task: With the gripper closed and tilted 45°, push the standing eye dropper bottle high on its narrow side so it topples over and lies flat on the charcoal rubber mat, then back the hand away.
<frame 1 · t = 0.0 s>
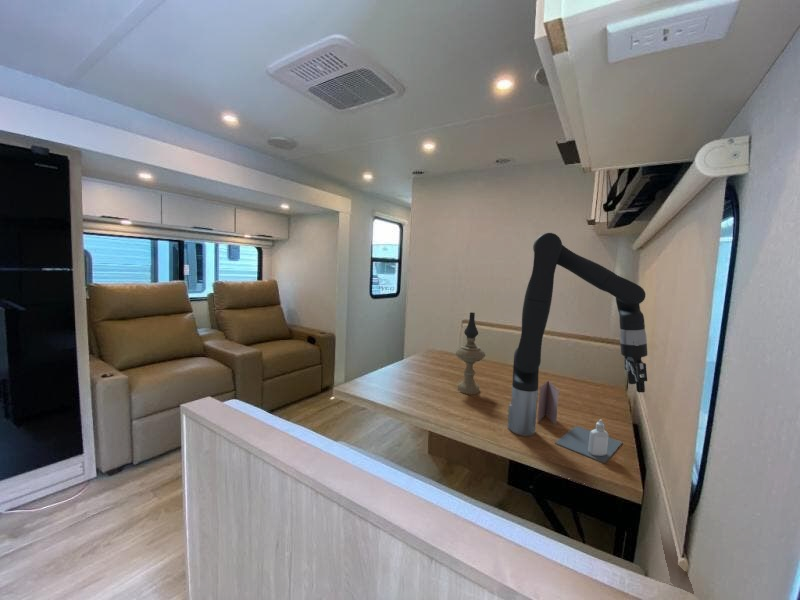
hand: (636, 387, 115), 22 cm above the table, tool pointing down, fingers open, 8 cm apart
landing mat: (588, 443, 120), on the table
eye dropper bottle: (597, 454, 113), resting on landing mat
greeting card: (548, 421, 138), on the table
oil lamp: (468, 390, 170), on the table
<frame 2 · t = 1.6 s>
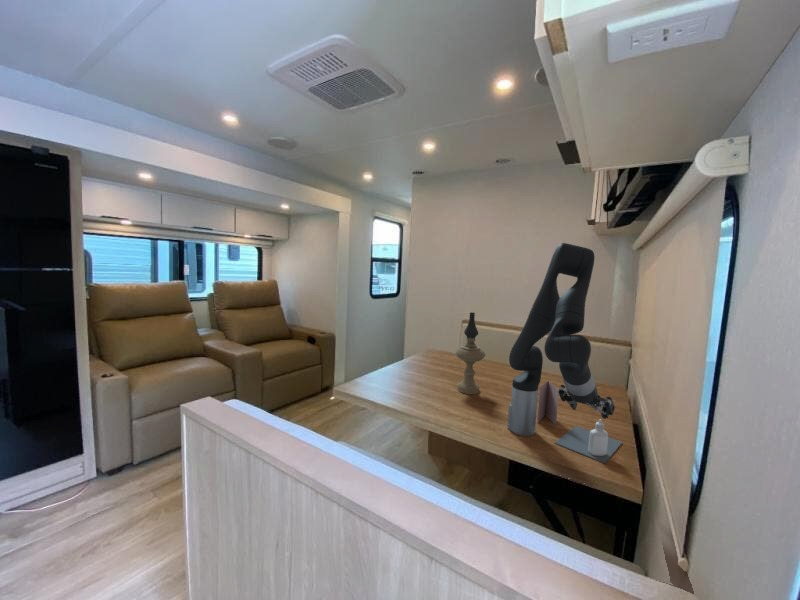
hand: (589, 411, 103), 19 cm above the table, tool tilted 45°, fingers open, 8 cm apart
nothing on the table moved.
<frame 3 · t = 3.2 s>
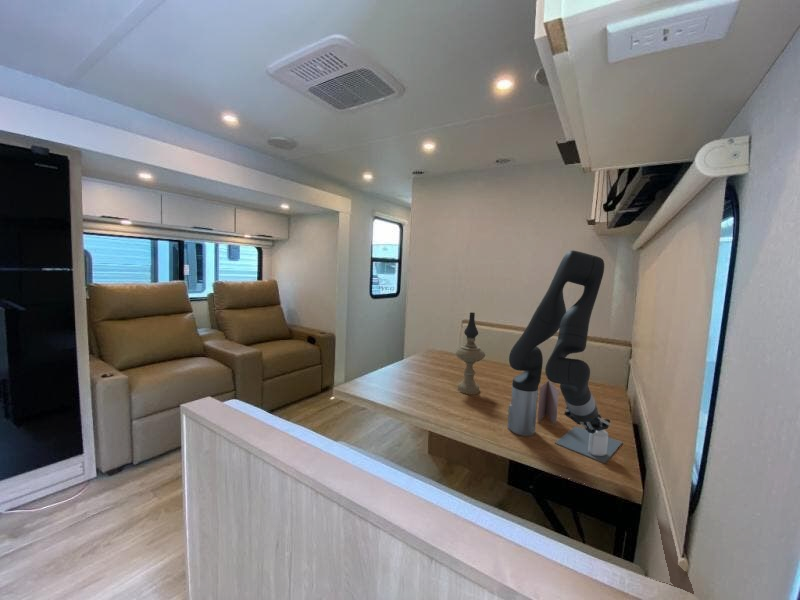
hand: (591, 430, 106), 11 cm above the table, tool tilted 45°, fingers closed
nothing on the table moved.
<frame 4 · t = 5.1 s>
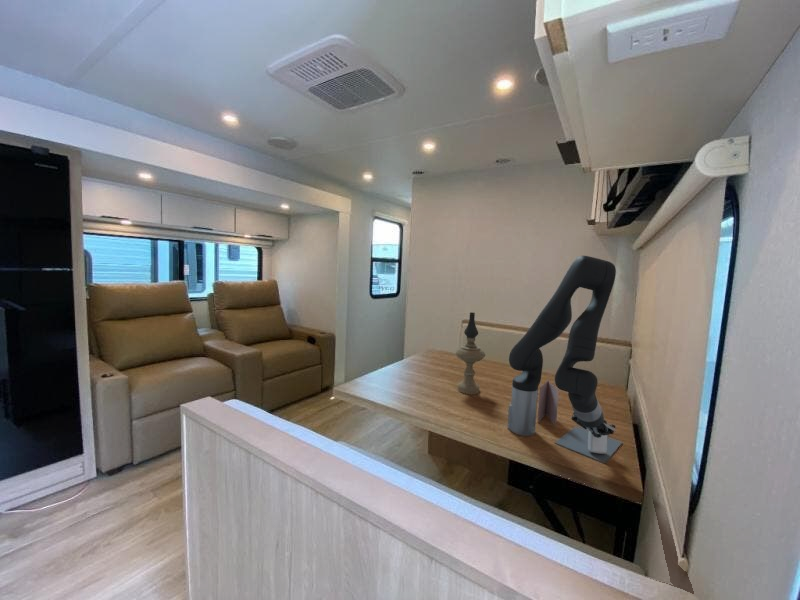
hand: (597, 434, 111), 8 cm above the table, tool tilted 45°, fingers closed
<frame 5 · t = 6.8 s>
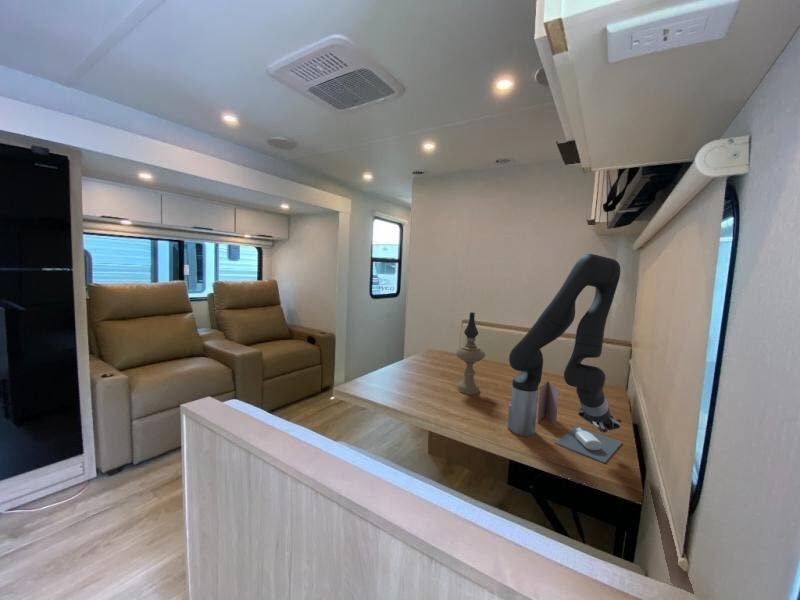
hand: (603, 429, 115), 7 cm above the table, tool tilted 45°, fingers closed
eye dropper bottle: (594, 446, 114), point 2 cm above the table, touching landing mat
everything else where it was.
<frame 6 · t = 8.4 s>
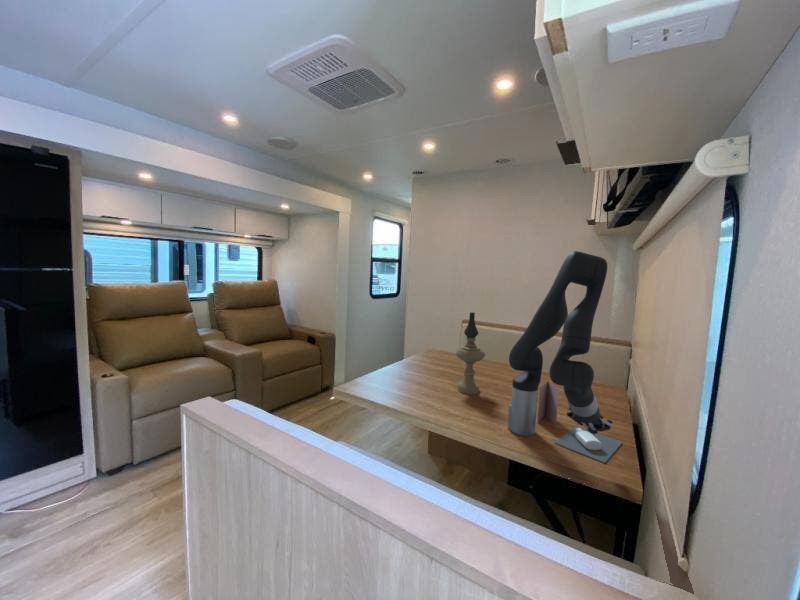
hand: (593, 431, 108), 11 cm above the table, tool tilted 45°, fingers closed
nothing on the table moved.
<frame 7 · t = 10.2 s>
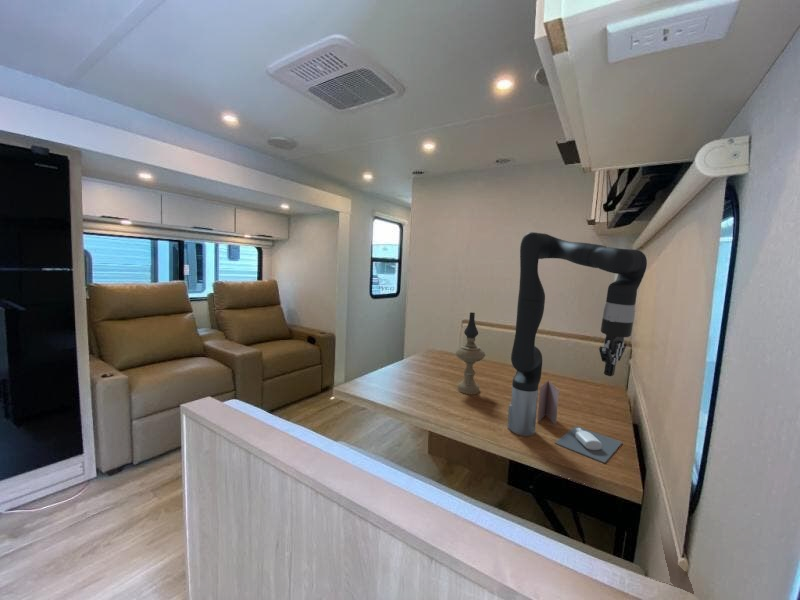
hand: (608, 375, 99), 31 cm above the table, tool pointing down, fingers closed
nothing on the table moved.
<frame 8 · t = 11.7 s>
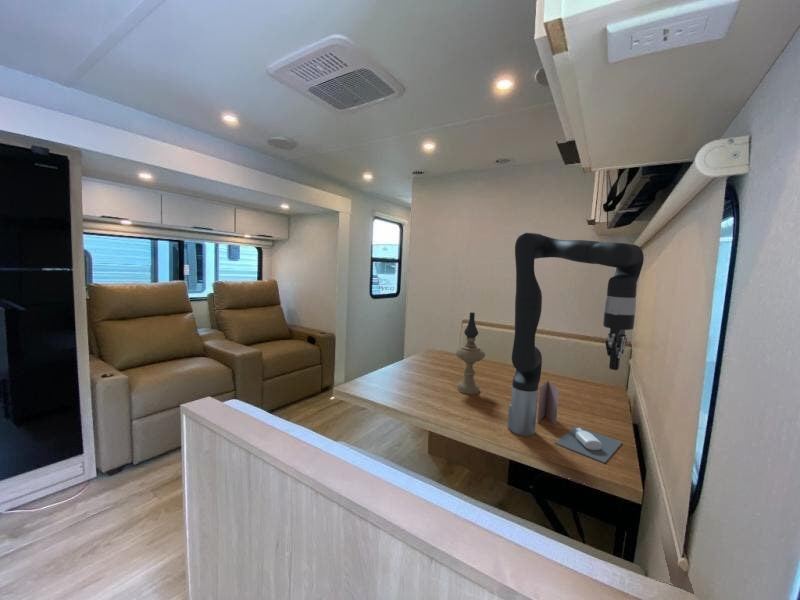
hand: (613, 369, 99), 33 cm above the table, tool pointing down, fingers closed
nothing on the table moved.
at the end: eye dropper bottle tilted 90°; eye dropper bottle touching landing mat; eye dropper bottle inside the target area (3.9 cm from its centre), point 2.1 cm above the table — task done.
